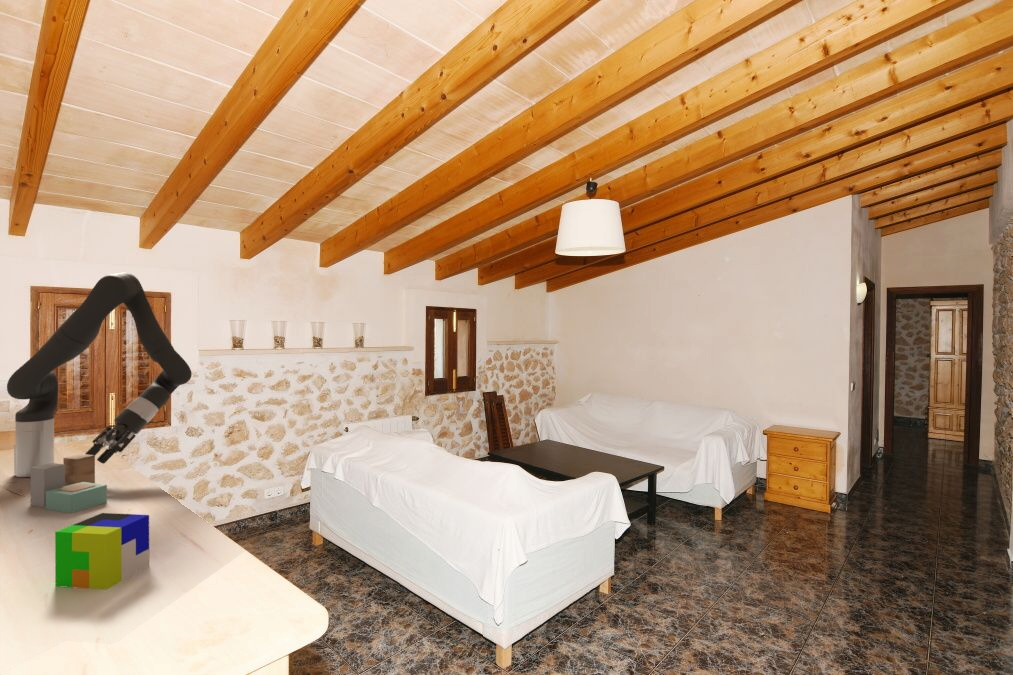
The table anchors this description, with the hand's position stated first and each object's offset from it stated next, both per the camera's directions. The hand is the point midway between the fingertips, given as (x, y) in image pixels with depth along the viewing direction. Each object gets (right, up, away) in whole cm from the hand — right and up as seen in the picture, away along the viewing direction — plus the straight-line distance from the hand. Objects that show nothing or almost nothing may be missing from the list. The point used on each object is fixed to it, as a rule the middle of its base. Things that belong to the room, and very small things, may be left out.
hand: (93, 459), depth 154 cm
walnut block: (-2, -8, -3) cm, 9 cm away
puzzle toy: (+44, -10, -54) cm, 70 cm away
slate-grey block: (-2, -9, -13) cm, 16 cm away
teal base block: (+7, -9, -15) cm, 19 cm away
